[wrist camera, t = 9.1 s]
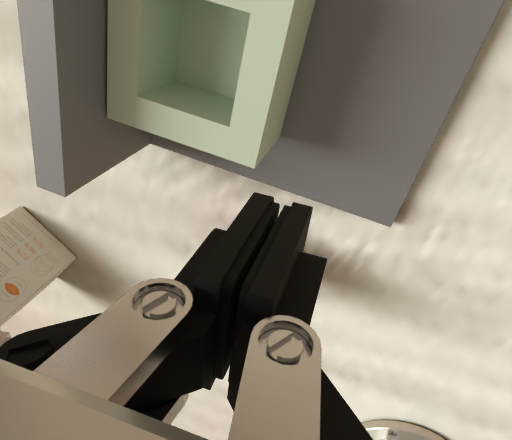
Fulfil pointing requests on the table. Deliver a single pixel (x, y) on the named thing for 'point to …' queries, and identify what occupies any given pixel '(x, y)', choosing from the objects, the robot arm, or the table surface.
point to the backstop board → (299, 107)
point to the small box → (27, 260)
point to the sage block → (206, 70)
